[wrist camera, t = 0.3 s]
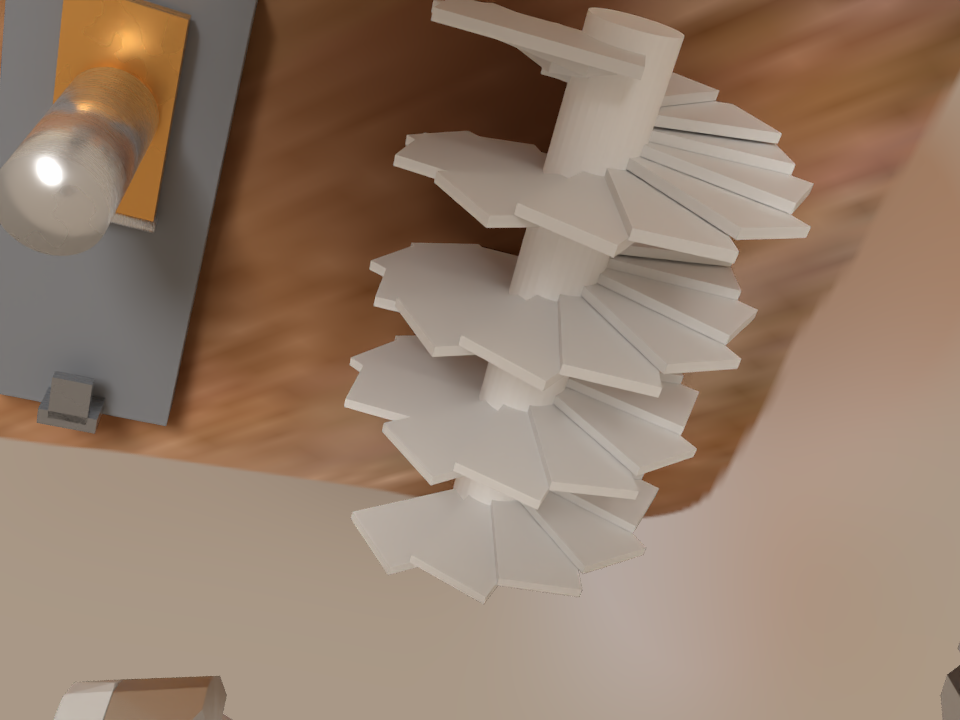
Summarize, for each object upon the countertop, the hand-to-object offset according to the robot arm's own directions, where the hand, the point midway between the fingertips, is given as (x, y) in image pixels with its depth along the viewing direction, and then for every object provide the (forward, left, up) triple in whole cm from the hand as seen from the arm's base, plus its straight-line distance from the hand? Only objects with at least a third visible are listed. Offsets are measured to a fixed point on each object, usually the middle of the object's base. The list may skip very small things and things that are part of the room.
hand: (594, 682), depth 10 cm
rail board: (+10, -17, -39) cm, 43 cm away
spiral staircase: (+14, +4, -39) cm, 41 cm away
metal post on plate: (+5, -15, -36) cm, 39 cm away
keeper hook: (+19, -22, -37) cm, 47 cm away
